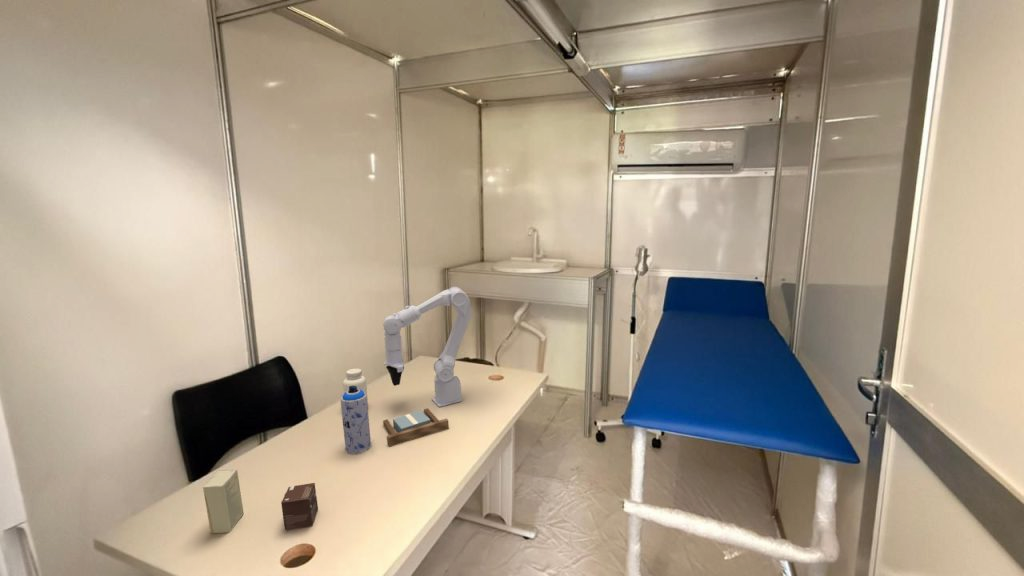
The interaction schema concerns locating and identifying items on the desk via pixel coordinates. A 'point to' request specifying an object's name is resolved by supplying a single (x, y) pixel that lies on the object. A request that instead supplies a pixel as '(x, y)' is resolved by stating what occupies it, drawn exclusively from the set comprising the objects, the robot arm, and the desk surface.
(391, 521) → the desk surface
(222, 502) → the skincare box
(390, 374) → the robot arm
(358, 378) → the pill bottle
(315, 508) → the box
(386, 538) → the desk surface
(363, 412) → the aerosol can
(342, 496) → the desk surface
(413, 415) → the carton
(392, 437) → the stand
